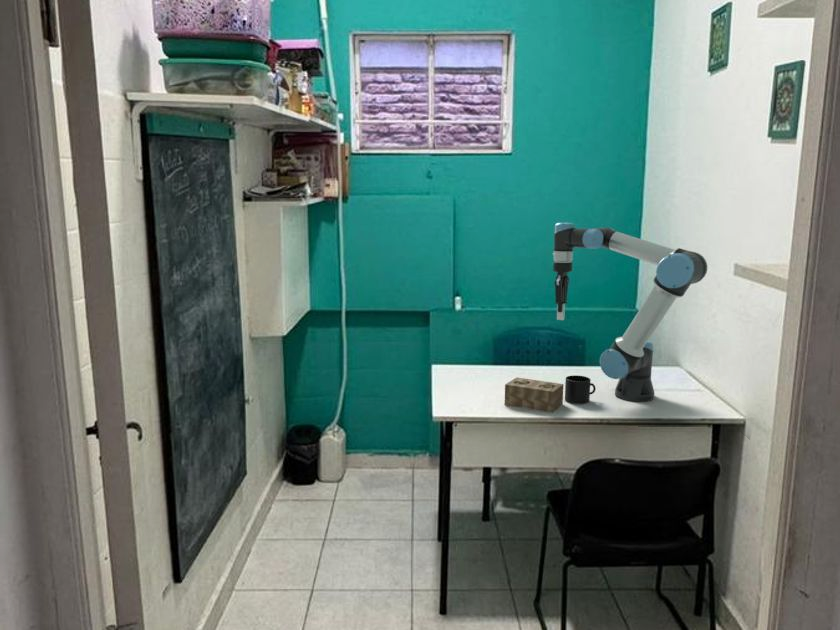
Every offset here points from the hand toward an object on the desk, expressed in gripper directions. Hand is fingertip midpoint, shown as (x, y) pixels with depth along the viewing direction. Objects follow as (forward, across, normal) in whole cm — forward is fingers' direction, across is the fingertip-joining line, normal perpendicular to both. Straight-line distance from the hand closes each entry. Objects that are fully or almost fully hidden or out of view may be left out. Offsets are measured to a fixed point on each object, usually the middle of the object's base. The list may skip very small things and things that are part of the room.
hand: (560, 319), depth 282 cm
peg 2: (+29, +25, +3) cm, 38 cm away
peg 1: (+29, +25, -7) cm, 39 cm away
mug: (+30, +11, +12) cm, 34 cm away
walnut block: (+29, +25, -2) cm, 39 cm away
